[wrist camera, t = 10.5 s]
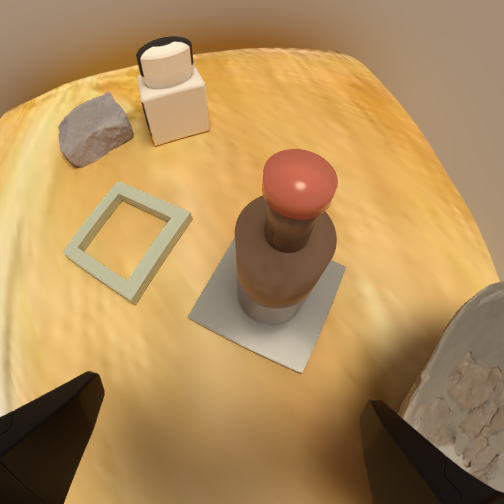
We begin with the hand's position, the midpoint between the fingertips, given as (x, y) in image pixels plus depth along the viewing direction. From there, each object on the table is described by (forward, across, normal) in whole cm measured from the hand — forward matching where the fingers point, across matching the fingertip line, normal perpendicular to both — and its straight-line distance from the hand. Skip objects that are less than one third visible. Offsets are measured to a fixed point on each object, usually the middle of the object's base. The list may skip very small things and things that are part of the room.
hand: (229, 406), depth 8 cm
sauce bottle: (+15, -2, +3) cm, 16 cm away
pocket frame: (+19, +12, +1) cm, 22 cm away
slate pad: (+16, -2, +4) cm, 16 cm away
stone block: (+30, +23, -10) cm, 39 cm away
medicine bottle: (+31, +11, -11) cm, 35 cm away
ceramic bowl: (+7, -19, +13) cm, 24 cm away
